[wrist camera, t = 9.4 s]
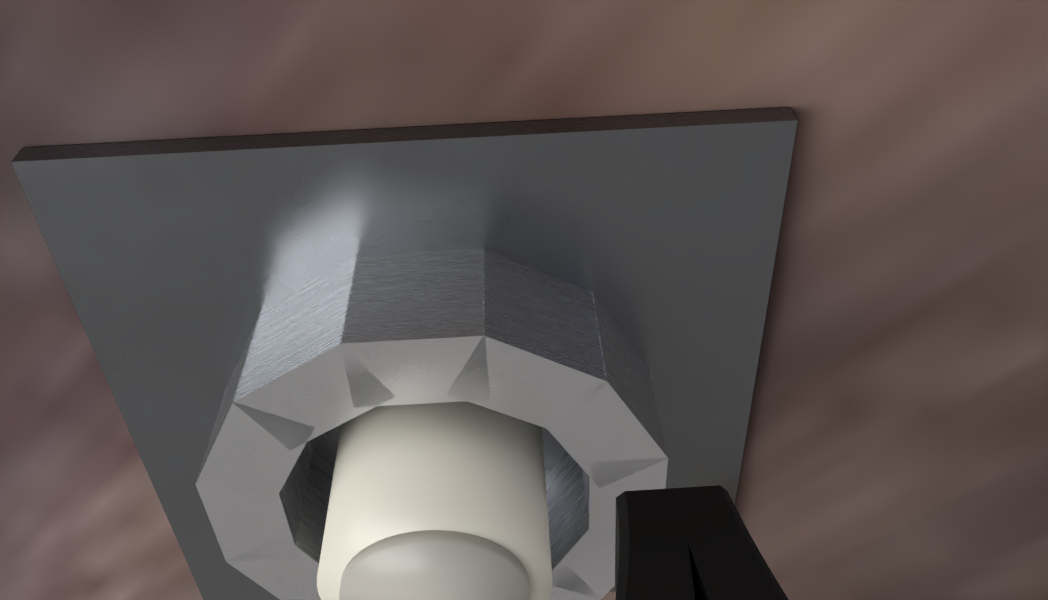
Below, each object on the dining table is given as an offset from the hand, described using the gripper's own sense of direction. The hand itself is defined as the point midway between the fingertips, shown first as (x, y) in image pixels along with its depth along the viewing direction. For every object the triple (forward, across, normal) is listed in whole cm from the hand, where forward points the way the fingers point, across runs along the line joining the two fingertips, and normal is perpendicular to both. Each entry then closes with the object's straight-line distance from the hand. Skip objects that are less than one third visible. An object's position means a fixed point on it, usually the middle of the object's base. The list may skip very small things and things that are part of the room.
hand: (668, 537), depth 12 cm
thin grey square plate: (+10, +4, +7) cm, 13 cm away
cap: (+9, +4, +7) cm, 12 cm away
